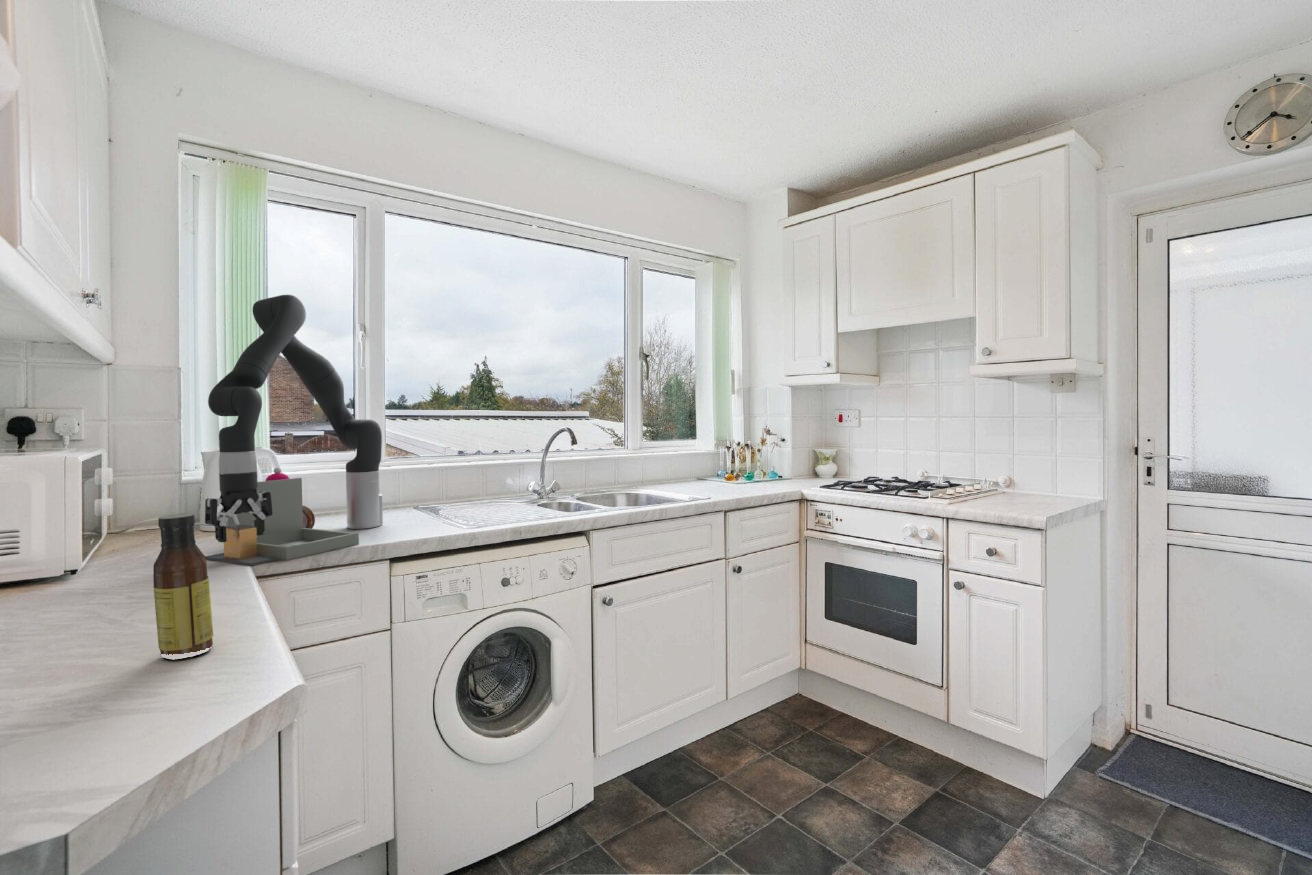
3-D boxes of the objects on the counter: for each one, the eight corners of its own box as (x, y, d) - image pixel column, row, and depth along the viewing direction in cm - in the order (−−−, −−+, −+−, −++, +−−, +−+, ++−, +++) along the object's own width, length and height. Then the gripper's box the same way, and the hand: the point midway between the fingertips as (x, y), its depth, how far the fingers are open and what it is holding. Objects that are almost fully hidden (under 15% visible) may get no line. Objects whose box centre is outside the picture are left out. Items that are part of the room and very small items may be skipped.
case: (301, 538, 175) (299, 477, 175) (358, 544, 165) (357, 480, 165) (226, 552, 157) (224, 485, 156) (286, 560, 147) (284, 488, 147)
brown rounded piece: (316, 533, 183) (315, 504, 183) (309, 535, 180) (308, 506, 180) (267, 533, 184) (266, 504, 184) (259, 535, 181) (259, 506, 181)
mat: (230, 553, 155) (230, 551, 155) (277, 560, 147) (277, 557, 147) (204, 559, 149) (203, 556, 149) (251, 565, 142) (251, 563, 142)
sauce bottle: (206, 642, 92) (201, 509, 92) (220, 652, 88) (215, 513, 88) (150, 656, 87) (145, 515, 87) (162, 667, 83) (157, 519, 83)
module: (241, 554, 151) (240, 524, 151) (257, 556, 149) (256, 525, 149) (224, 557, 148) (223, 526, 148) (240, 559, 145) (239, 528, 145)
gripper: (258, 467, 156) (260, 532, 156) (196, 473, 143) (199, 543, 143) (277, 468, 152) (280, 534, 153) (216, 473, 140) (219, 545, 140)
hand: (240, 538), depth 148 cm, fingers open, 8 cm apart
